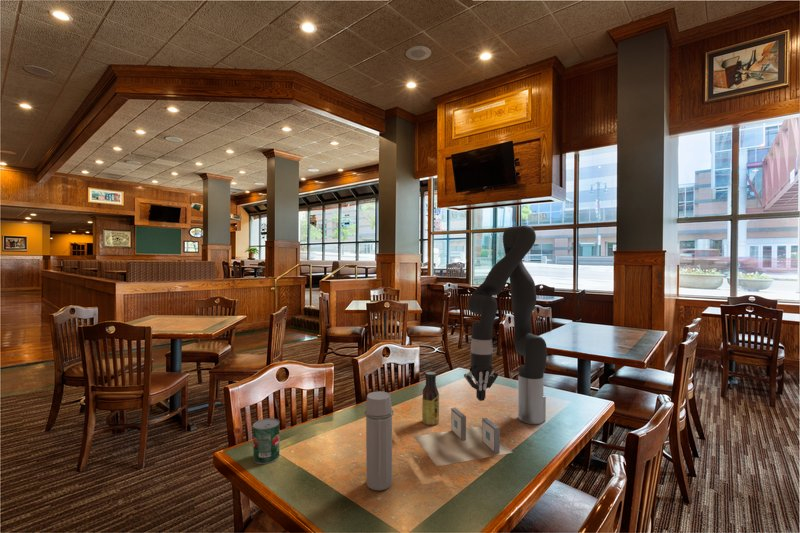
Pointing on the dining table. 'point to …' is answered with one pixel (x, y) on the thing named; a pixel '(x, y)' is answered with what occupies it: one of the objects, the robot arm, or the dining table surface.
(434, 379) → the sauce bottle
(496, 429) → the slate tile
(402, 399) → the dining table surface
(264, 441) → the canned tomato
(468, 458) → the white flat sheet
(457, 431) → the slate tile
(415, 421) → the dining table surface
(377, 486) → the water bottle
